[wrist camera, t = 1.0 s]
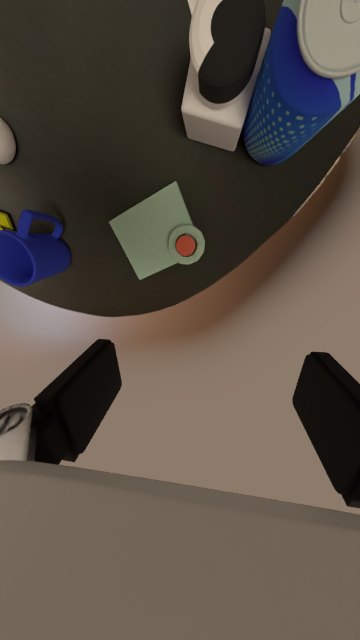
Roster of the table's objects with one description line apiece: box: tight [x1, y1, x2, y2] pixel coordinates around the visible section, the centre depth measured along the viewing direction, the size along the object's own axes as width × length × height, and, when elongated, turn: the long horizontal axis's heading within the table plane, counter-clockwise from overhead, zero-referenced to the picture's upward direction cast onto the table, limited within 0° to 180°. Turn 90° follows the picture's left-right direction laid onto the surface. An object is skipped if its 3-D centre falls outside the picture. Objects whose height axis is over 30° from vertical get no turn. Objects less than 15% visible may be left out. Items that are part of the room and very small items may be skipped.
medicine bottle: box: [181, 0, 271, 151], centre depth 20 cm, size 7×7×12 cm
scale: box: [109, 181, 205, 280], centre depth 32 cm, size 14×12×3 cm
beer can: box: [244, 0, 360, 165], centre depth 18 cm, size 8×8×16 cm
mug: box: [0, 209, 71, 287], centre depth 32 cm, size 8×12×10 cm
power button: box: [176, 235, 196, 256], centre depth 30 cm, size 3×3×2 cm
